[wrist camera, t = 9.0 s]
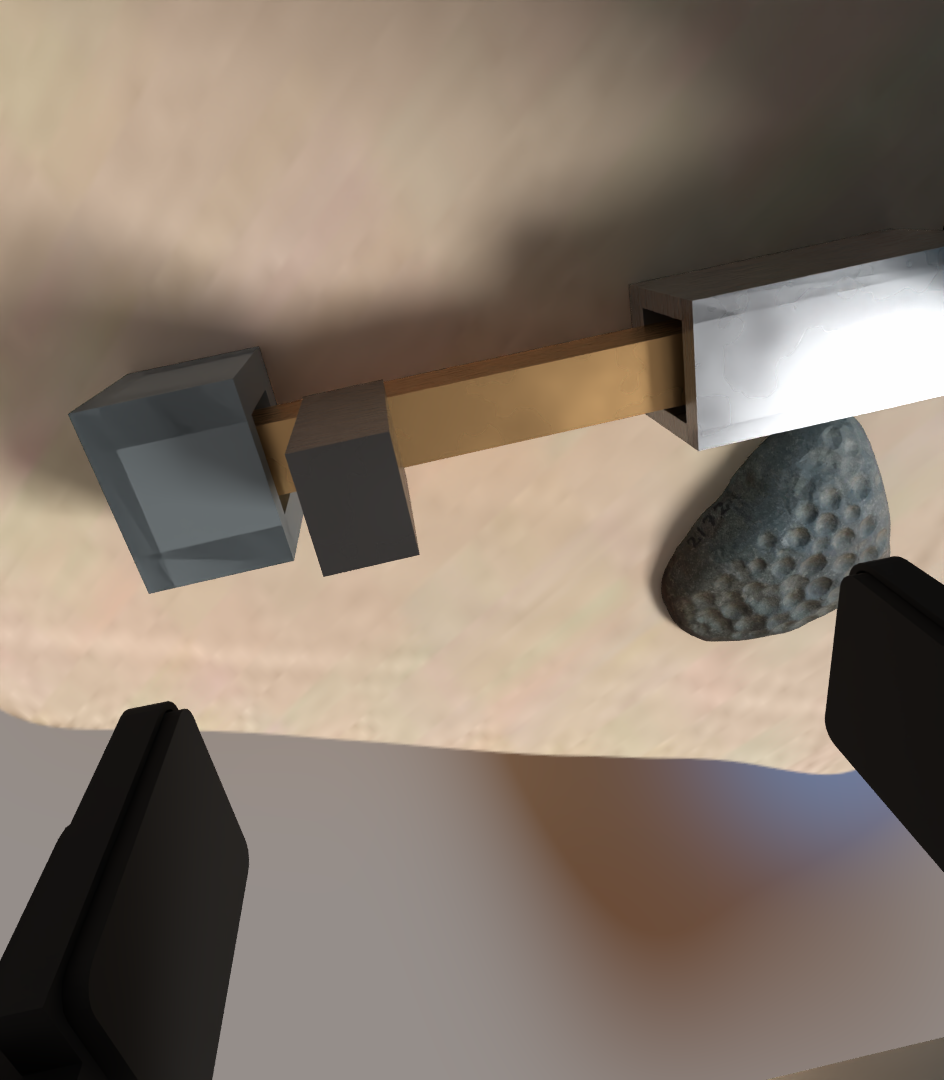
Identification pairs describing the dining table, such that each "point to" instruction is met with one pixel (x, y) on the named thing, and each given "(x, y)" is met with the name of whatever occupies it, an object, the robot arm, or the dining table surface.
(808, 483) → the fossil
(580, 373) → the tan bar piece
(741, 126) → the dining table surface
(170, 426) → the socket
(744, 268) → the sleeve
